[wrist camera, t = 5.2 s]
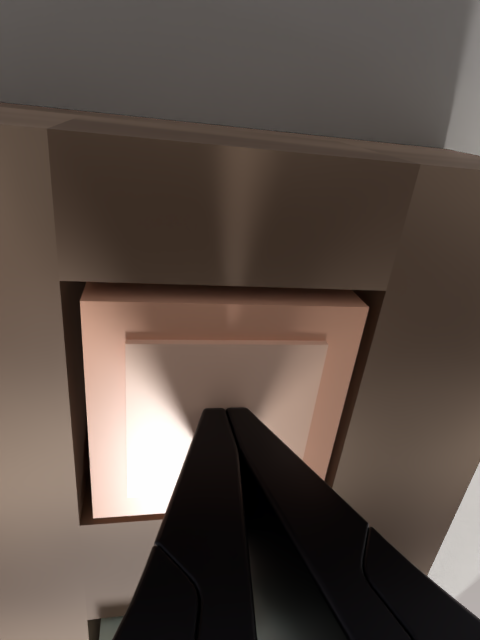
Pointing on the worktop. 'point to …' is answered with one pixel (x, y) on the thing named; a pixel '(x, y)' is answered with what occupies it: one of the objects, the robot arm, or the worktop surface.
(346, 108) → the worktop surface
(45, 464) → the key console
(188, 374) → the terracotta key
